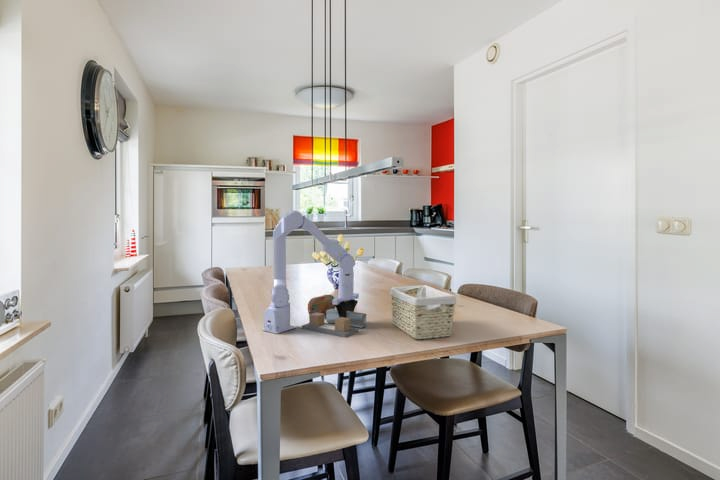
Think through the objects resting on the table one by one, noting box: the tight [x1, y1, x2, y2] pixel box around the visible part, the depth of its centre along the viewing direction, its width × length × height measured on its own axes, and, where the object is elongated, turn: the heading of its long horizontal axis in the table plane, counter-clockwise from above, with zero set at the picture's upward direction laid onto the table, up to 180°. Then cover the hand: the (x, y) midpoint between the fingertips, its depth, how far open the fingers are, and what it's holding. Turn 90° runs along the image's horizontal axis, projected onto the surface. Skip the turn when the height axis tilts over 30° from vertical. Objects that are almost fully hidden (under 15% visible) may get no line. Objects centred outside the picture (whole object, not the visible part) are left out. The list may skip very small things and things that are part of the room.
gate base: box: [301, 312, 359, 338], centre depth 145 cm, size 8×20×5 cm, turn 56°
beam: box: [325, 308, 367, 329], centre depth 152 cm, size 4×16×4 cm, turn 59°
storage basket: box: [389, 284, 457, 340], centre depth 145 cm, size 24×16×15 cm
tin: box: [307, 294, 336, 317], centre depth 166 cm, size 15×3×8 cm, turn 143°
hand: (346, 319), depth 152 cm, fingers closed on beam, 4 cm apart
